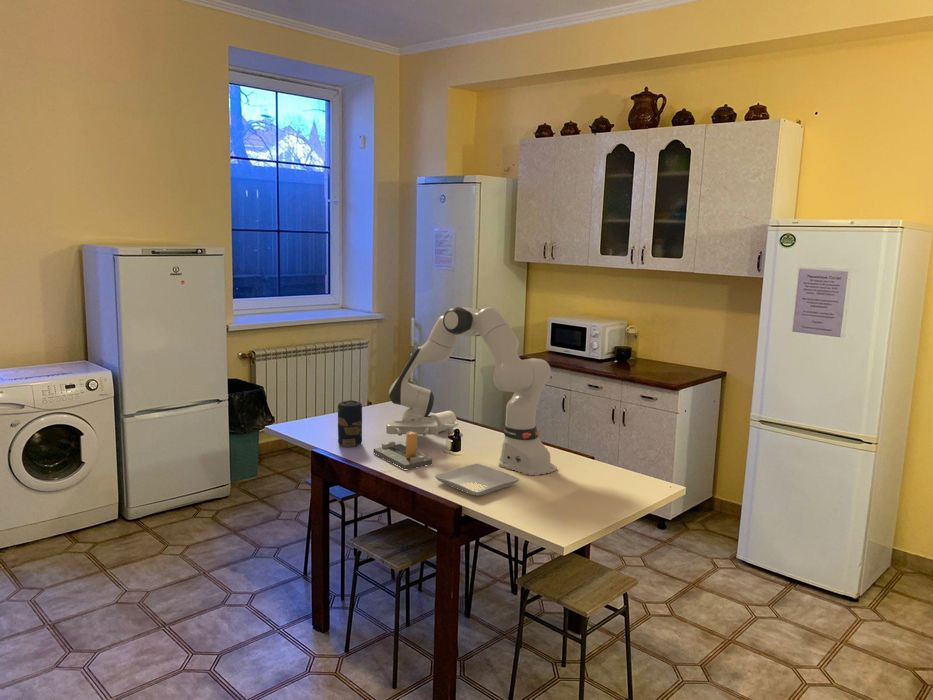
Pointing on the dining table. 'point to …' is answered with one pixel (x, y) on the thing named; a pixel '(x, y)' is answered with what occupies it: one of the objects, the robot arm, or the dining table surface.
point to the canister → (349, 423)
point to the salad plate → (477, 478)
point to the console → (401, 456)
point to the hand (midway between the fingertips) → (412, 433)
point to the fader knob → (411, 445)
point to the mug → (445, 420)
